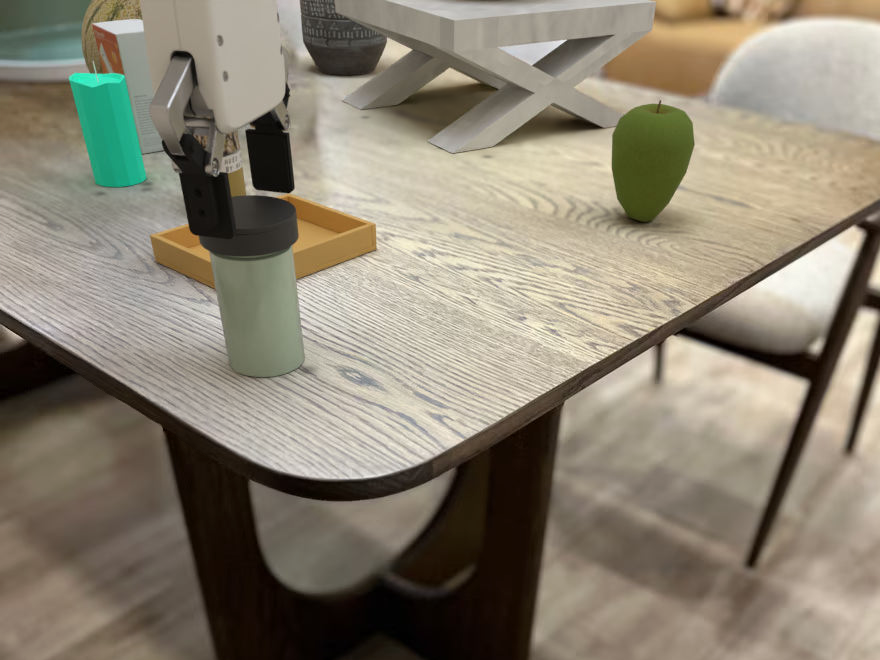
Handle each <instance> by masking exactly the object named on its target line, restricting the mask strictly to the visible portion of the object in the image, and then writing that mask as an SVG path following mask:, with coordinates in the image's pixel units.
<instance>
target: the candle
mask: <svg viewBox="0 0 880 660" xmlns="http://www.w3.org/2000/svg"><path fill="white" fill-rule="evenodd" d="M92 62H93V66H94V70H95V74H94V73H90V72H74V73H72V74H71V75H70V76H69V77H68V80H69V81H68V82H69V84H70V88H71V92H72V96H73V101H74V104H75V108H76V112H77V115H78V119H79V123H80V128H81V132H82V135H83V139H84V140H83V141H84V143H85V147H86V151H87V155H88V159H89V162H90V163H89V164H90V167H91V172H92V175H93V178H94V182H95V184H96V185H99V186H102V187H107V188H109V187H110V188H121V187H122V188H123V187H132V186H135V185H139V184H141V183H143V182H144V181H145V180H147V178H148V177H147V172H146V168H145V163H144V159H143V154H141V149H140V145H139V140H138V135H137V131H136V126H135V121H134V117H133V112H132V107H131V103H130V98H129V94H128V89H127V84H126V80H125V76H124V75H122V74H117V73H109V74H97V73H96V68H95V64H94V61H92Z"/></svg>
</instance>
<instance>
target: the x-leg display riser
mask: <svg viewBox="0 0 880 660" xmlns="http://www.w3.org/2000/svg"><path fill="white" fill-rule="evenodd" d="M656 7H657V1H655V0H335V10H336V13H338V14H340V15H342V16H344V17H346V18H349V19H351V20H353V21H355V22H357V23H359V24H361V25H363V26H365V27H367V28H369V29H371V30H373V31H375V32H377V33H379V34H381V35H383V36H386V37H387V39H390V40H392V41H394V42H396V43H398V44H400V45H402V46H404V47H406V48H408V49H411V50H410V51H409V52H407V53H406V54H404V55H403V56H401V57H400V58H399V59H398V60H396V61H395V62H393V63H391V65H389V66H387V67H386V68H384V69H383V70H382V71H381V72H379V73H378V74H376V75H375V76H373V77H372V78H371V79H369V80H368V81H366V82H365V83H363V84H362V85H361V86H360V87H358V88H356V89H355V90H354V91H352V92H351V93H350V94H348V95H347V96H345V97H344V98H342V99H341V101H342V102H345V103H346V104H348V105H350V106H352V107H354V108H356V109H359V110H369V109H375V108H383V107H384V108H385V107H390V106H391V107H392V106H398V105H400V104H401V103H403V102H404V101H406V100H407V99H408V98H409V97H411V96H412V95H414V94H415V93H417V92H418V91H419V90H420V89H422V88H423V87H425V86H426V85H428V84H429V83H431V82H432V81H433V80H434V79H436V78H438V77H439V76H440V75H442V74H443V73H445V72H446V71H447V70H449V69H451V70H454V71H456V72H457V73H460V74H462V75H464V76H465V77H467V78H470V79H472V80H474V81H476V82H478V83H481V84H484V85H485V86H489V87H491V88H495V89H496V91H494V92H493V93H492V94H490V95H489V96H487V97H486V98H485V99H483V100H482V101H480V102H479V103H478V104H476V105H475V106H473V107H472V108H471V109H469V110H468V111H466V112H465V113H464V114H462V115H461V116H460V117H458V118H457V119H456V120H454V121H453V122H451V123H450V124H449V125H447V126H446V127H444V129H442V130H440V131H439V132H438V133H437V134H435V135H433V136H432V137H430V138H429V139H428V140H427V142H428V143H430V144H432V145H434V146H436V147H438V148H441V149H442V150H444V151H446V152H449V153H451V154H457V153H462V152H469V151H475V150H480V149H486V148H492V147H495V146H496V145H497V144H498V143H500V142H501V141H503V140H504V139H506V138H507V137H509V136H510V135H511V134H513V133H514V132H515V131H516V130H517V129H520V128H521V127H522V126H523V125H524V124H526V123H528V122H529V121H530V120H531V119H533V118H534V117H535V116H537V115H539V114H540V113H541V112H542V111H544V110H545V109H547V108H548V107H550V106H552V107H554V108H556V109H558V110H560V111H562V112H563V113H566V114H568V115H570V116H572V117H573V118H576V119H579V120H580V121H584V122H586V123H589V124H592V125H596V126H597V127H601V128H604V129H606V128H607V129H608V128H611V127H616V126H617V124H618V121H619V119H620V118H621V117H622V116H623V115H625V114H624V113H622V112H620V111H618V110H616V109H614V108H613V107H610V106H608V105H607V104H605V103H603V102H601V101H599V100H597V99H596V98H593V97H592V96H590V95H588V94H586V93H584V92H583V91H580V90H579V89H577V88H576V87H577V86H579V84H581V83H582V82H583V81H585V80H586V79H588V78H589V77H590V76H592V75H593V74H594V73H596V72H597V71H598V70H600V69H601V68H603V67H604V66H606V65H607V64H608V63H609V62H611V61H612V60H614V59H615V58H616V57H618V56H619V55H620V54H622V53H623V52H624V51H626V50H627V49H629V48H630V47H631V46H632V45H634V44H636V43H637V42H638V41H640V40H641V39H642V38H643V37H645V36H646V35H648V34H649V33H651V32H652V31H653V27H654V22H655V21H654V19H655V14H656ZM559 41H563V42H562V43H561V44H560V45H558V46H556V47H555V48H554V49H552V50H551V51H550V52H548V53H547V54H546V55H544V56H543V57H542V58H540V59H539V60H537V61H536V62H535V63H533V64H530V63H528V62H526V61H524V60H522V59H521V58H519V57H516V56H515V55H513V54H511V53H509V52H508V51H505V50H503V49H501V48H505V47H513V46H514V47H515V46H522V45H531V44H540V43H549V42H559Z"/></svg>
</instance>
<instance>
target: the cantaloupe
mask: <svg viewBox="0 0 880 660" xmlns="http://www.w3.org/2000/svg"><path fill="white" fill-rule="evenodd" d="M87 7H88V8H87V9H86V11H85V13H84V17H83V21H82V25H81V40H80V41H81V42H80V43H81V51H82V55H83V58H84V62H85V65H86V67H87V70H88V73H94V74H95V70H94V66H93V62H92V61H94V64H95V68H96V73H97V74H103V70H102V65H101V61H100V56H99V52H98V48H97V43H96V39H95V35H94V31H93V27H92V23H100V22H108V21H117V20H128V19H141V20H142V12H141V3H140V0H91V1H90V3H89V4H88V6H87Z"/></svg>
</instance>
